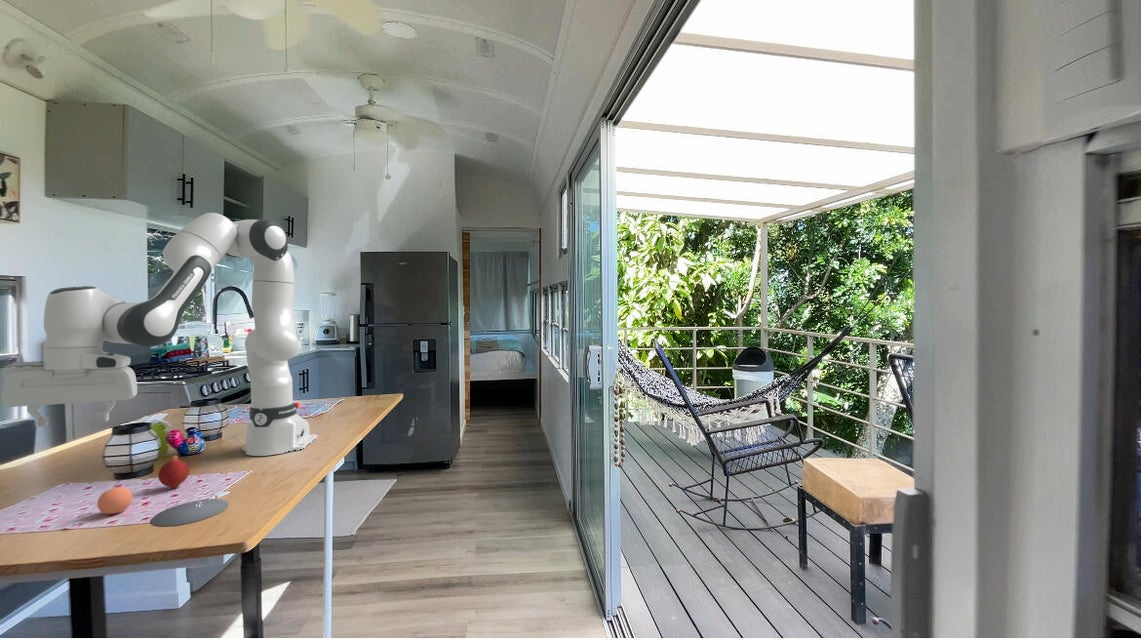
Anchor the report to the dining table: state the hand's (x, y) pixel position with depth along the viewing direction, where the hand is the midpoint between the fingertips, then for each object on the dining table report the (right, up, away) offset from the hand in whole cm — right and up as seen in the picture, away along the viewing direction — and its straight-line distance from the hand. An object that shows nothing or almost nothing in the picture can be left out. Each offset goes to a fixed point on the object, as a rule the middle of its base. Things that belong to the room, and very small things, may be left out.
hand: (73, 423), depth 101 cm
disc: (+25, -20, 0) cm, 32 cm away
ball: (+9, -17, 0) cm, 19 cm away
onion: (+10, -20, +14) cm, 26 cm away
